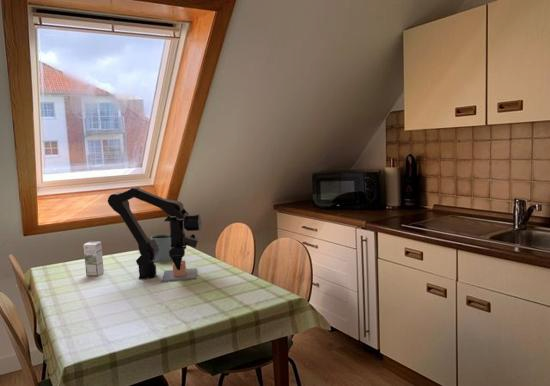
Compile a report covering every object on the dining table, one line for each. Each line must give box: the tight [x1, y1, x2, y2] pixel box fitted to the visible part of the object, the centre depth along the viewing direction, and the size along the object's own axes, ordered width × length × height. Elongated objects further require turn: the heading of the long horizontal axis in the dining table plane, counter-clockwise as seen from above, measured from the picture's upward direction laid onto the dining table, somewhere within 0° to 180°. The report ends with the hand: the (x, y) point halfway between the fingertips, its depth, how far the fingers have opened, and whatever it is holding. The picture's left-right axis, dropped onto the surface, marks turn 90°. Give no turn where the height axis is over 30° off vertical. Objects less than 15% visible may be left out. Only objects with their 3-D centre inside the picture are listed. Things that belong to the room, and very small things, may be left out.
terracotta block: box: [172, 260, 187, 276], centre depth 192 cm, size 5×5×5 cm
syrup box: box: [82, 241, 105, 277], centre depth 199 cm, size 6×6×14 cm
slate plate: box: [161, 267, 198, 283], centre depth 192 cm, size 14×14×1 cm
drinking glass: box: [149, 233, 172, 263], centre depth 219 cm, size 10×10×12 cm
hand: (179, 266), depth 192 cm, fingers open, 9 cm apart
